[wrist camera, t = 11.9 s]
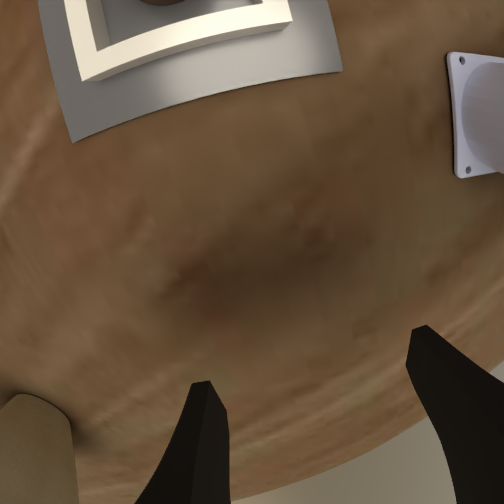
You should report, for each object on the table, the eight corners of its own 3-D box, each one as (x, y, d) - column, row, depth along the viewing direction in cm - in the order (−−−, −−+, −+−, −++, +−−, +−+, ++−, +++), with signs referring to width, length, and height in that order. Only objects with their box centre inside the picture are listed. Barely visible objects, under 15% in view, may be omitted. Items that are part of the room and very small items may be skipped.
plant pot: (126, 441, 29) (114, 565, 16) (49, 443, 31) (28, 538, 17) (33, 359, 22) (-22, 513, 8) (-30, 375, 24) (-73, 480, 10)
